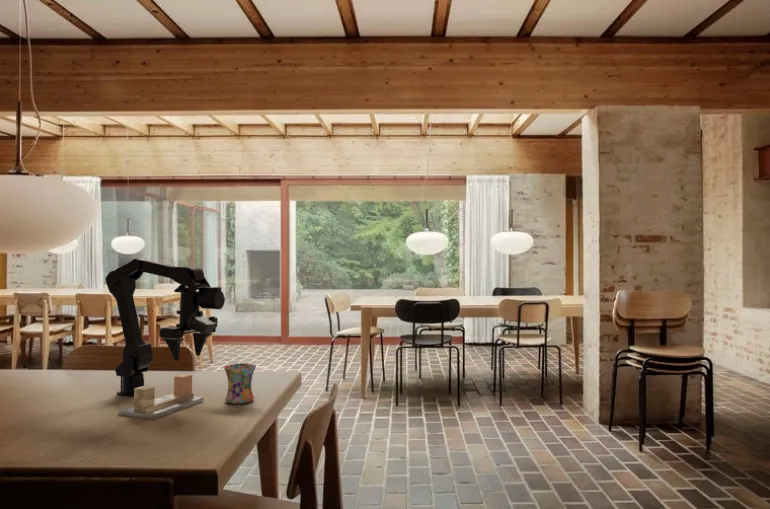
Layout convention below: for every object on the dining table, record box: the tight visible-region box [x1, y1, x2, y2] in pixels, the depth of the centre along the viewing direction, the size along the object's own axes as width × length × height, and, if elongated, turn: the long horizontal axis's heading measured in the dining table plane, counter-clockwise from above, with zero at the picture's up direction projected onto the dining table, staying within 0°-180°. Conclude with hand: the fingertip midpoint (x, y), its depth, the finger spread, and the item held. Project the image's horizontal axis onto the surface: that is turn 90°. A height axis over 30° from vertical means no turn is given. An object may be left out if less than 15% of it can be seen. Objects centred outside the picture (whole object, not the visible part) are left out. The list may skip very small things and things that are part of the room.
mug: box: [223, 363, 257, 405], centre depth 160 cm, size 12×9×11 cm
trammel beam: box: [133, 385, 195, 413], centre depth 151 cm, size 5×18×6 cm, turn 160°
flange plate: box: [117, 393, 205, 420], centre depth 151 cm, size 12×20×1 cm, turn 159°
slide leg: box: [173, 373, 193, 397], centre depth 159 cm, size 4×4×6 cm
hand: (187, 358), depth 163 cm, fingers open, 9 cm apart
